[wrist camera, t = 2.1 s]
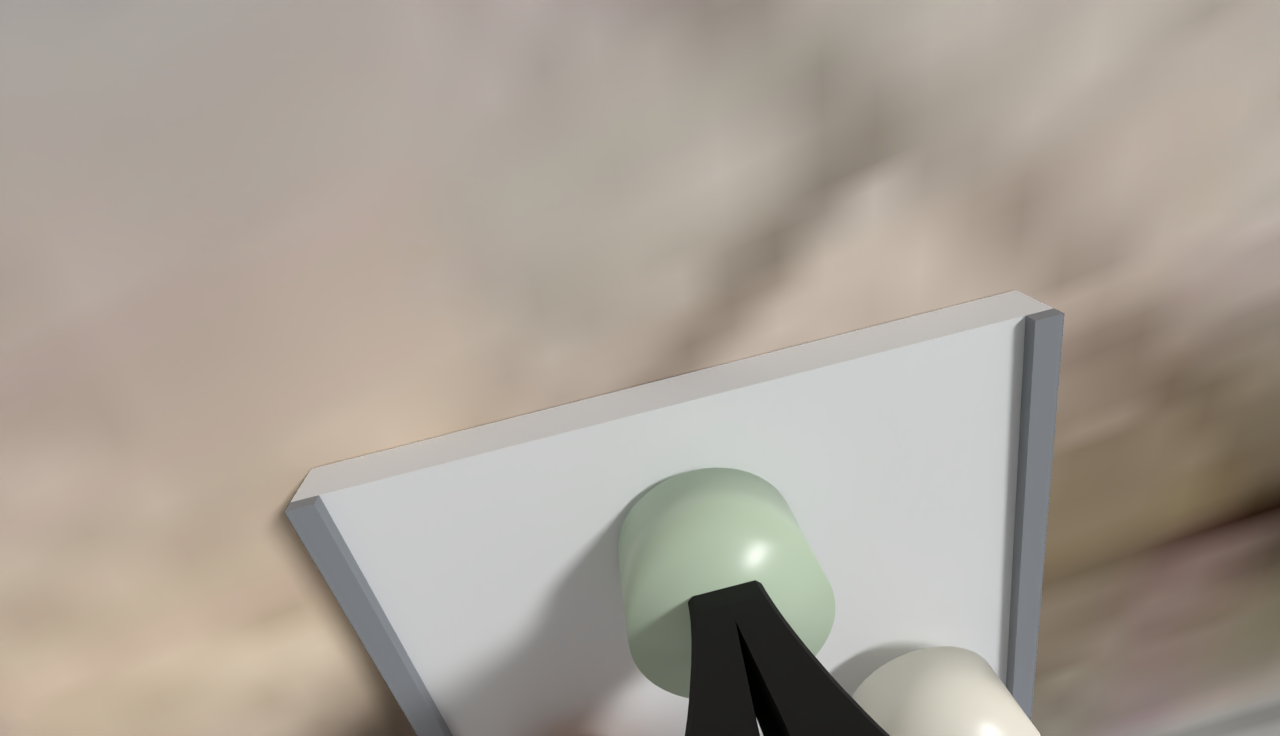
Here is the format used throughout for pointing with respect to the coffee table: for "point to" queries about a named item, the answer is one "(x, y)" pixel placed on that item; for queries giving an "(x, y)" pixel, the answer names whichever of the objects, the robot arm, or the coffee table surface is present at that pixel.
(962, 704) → the cream button
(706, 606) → the robot arm
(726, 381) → the panel
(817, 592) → the sage button
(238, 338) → the coffee table surface
